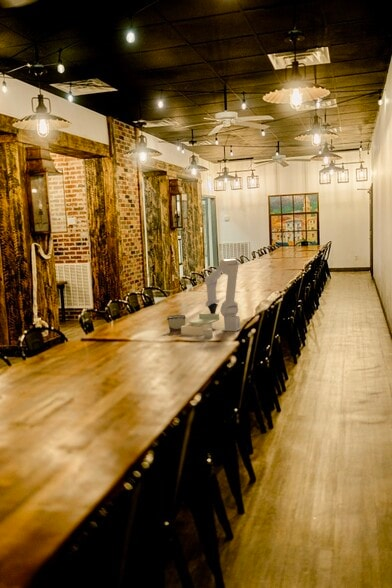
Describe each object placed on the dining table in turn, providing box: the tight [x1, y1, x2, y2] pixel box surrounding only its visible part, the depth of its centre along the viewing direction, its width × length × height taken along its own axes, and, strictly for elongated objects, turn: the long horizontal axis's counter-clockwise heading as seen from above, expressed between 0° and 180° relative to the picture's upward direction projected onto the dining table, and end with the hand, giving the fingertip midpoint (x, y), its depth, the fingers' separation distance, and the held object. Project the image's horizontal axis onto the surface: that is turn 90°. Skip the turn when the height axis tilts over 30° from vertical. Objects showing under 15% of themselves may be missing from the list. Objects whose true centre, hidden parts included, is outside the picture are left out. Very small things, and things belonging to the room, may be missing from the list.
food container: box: [166, 314, 187, 333], centre depth 349 cm, size 12×6×10 cm, turn 84°
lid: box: [188, 312, 220, 324], centre depth 348 cm, size 14×14×4 cm
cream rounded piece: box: [203, 328, 214, 340], centre depth 324 cm, size 5×5×5 cm
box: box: [180, 322, 213, 336], centre depth 341 cm, size 14×14×5 cm
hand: (213, 315), depth 359 cm, fingers closed
